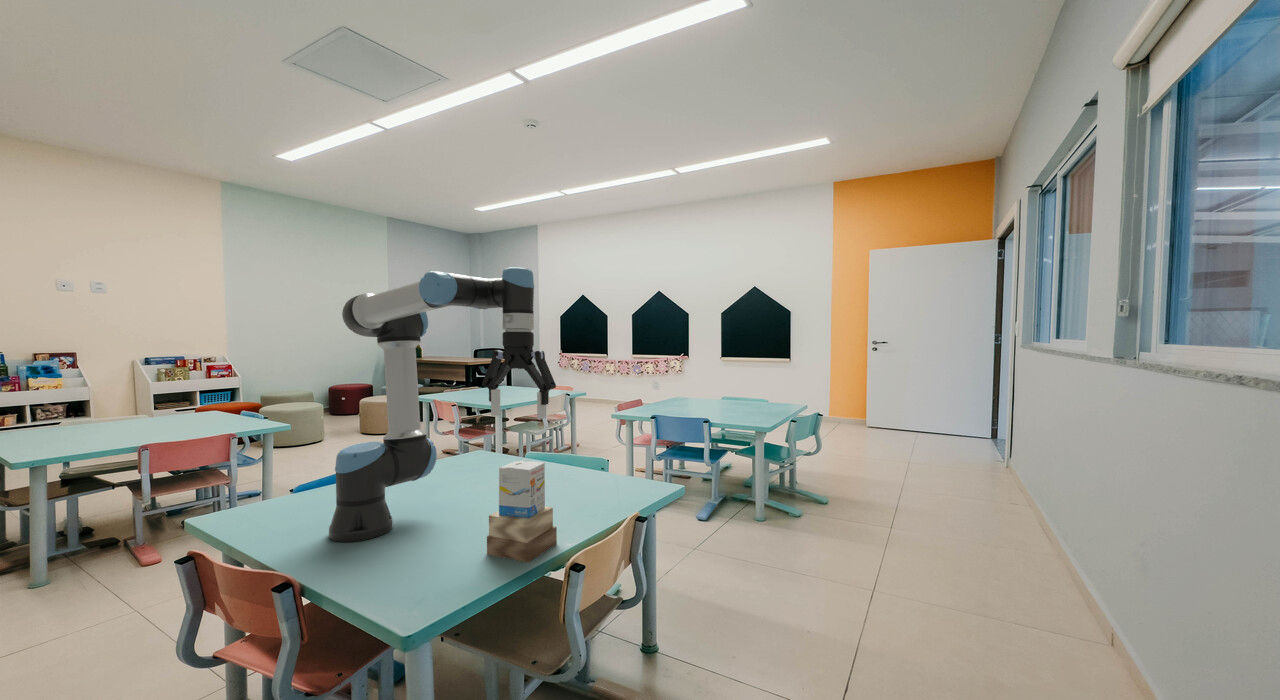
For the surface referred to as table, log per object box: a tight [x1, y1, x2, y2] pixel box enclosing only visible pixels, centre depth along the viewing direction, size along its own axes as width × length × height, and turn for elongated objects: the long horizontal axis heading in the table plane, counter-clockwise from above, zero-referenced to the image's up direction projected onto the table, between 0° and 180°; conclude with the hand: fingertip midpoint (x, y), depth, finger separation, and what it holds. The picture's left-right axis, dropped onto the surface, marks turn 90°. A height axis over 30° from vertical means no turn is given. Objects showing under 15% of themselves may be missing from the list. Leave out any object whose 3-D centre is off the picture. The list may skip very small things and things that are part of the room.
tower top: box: [488, 506, 554, 543], centre depth 126 cm, size 11×11×5 cm
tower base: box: [486, 525, 558, 563], centre depth 126 cm, size 12×12×5 cm
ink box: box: [498, 460, 546, 518], centre depth 126 cm, size 9×8×12 cm
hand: (518, 416), depth 126 cm, fingers open, 13 cm apart
